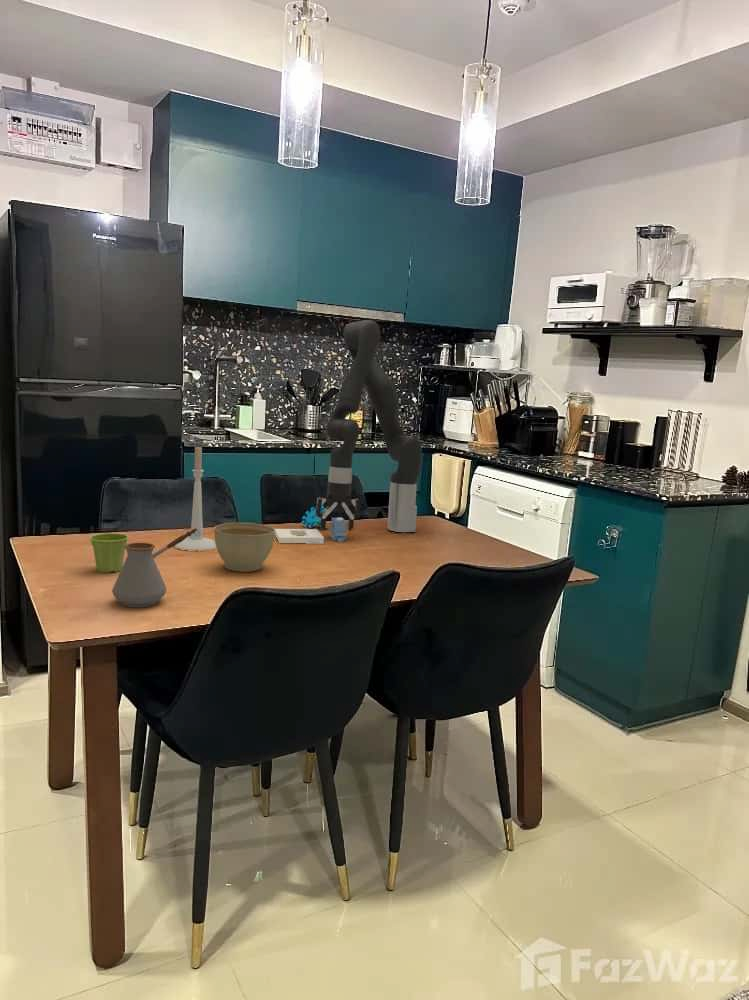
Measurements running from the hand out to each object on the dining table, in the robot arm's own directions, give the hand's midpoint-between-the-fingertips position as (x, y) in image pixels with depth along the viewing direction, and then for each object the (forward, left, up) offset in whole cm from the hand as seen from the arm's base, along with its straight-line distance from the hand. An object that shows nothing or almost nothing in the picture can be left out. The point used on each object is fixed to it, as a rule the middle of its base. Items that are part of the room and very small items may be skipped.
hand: (336, 530), depth 239 cm
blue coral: (+4, -18, -3) cm, 19 cm away
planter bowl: (+32, +36, -3) cm, 49 cm away
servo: (-1, 0, -3) cm, 3 cm away
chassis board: (+12, +1, -3) cm, 13 cm away
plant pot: (+66, +37, -3) cm, 76 cm away
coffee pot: (+53, +62, -3) cm, 82 cm away
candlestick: (+44, +11, -3) cm, 46 cm away
